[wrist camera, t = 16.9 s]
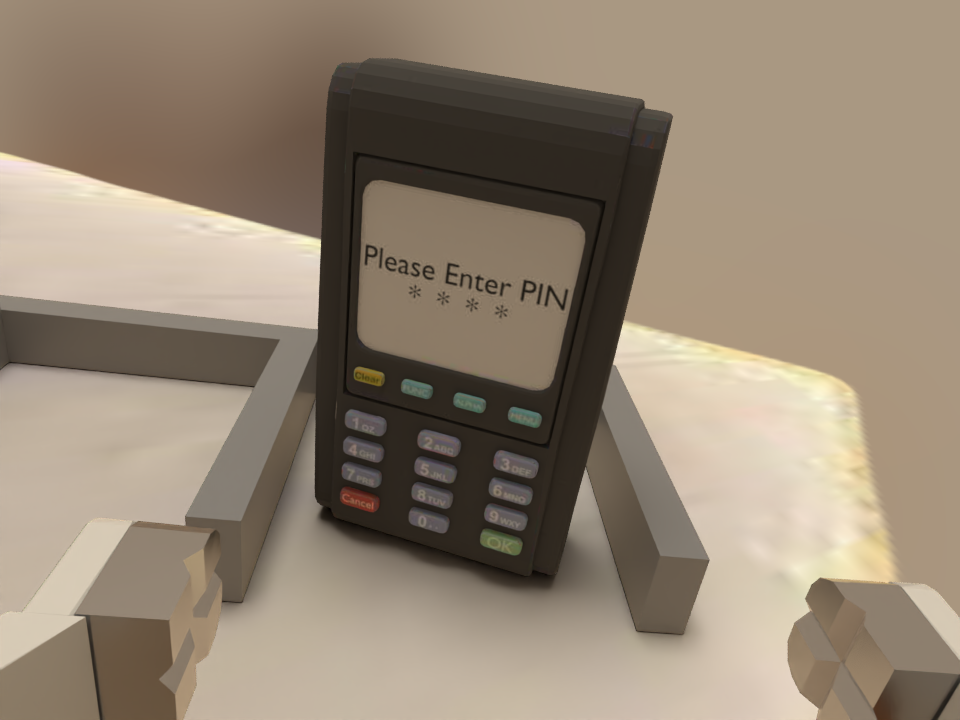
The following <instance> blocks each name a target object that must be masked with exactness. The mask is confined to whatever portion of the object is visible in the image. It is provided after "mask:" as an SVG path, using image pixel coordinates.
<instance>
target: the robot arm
mask: <svg viewBox="0 0 960 720" xmlns="http://www.w3.org/2000/svg"><path fill="white" fill-rule="evenodd" d="M220 555H221V543H220V533H219V532H218V531H217V530H216V529H211V528H201V527H192V526H182V525H172V524H163V523H153V522H143V521H137V522H134V521H127V520H117V519H107V518H96V519H94V520H92V521H90V522H89V523H87V524H86V525H85V526H84V528H83V529H82V531H81V532H80V533H79V535H78V536H77V537H76V539H75V540H74V541H73V543H72V544H71V546H70V547H69V548H68V550H67V551H66V552H65V554H64V555H63V556H62V558H61V559H60V561H59V562H58V563H57V565H56V566H55V567H54V569H53V570H52V571H51V573H50V574H49V575H48V577H47V578H46V580H45V581H44V582H43V584H42V585H41V586H40V588H39V589H38V590H37V592H36V593H35V595H34V596H33V597H32V599H31V600H30V601H29V603H28V604H27V605H26V607H25V608H24V609H23V611H22V612H9V611H8V612H6V613H4V614H3V615H1V616H0V720H183V719H184V716H185V714H186V711H187V709H188V706H189V704H190V701H191V698H192V696H193V693H194V691H195V688H196V686H197V683H196V664H197V663H199V662H200V661H201V660H203V659H204V658H205V657H207V656H208V654H209V652H210V649H211V646H212V643H213V641H214V638H215V635H216V630H217V626H218V622H219V617H220V613H221V602H222V580H221V579H220V578H219V577H218V575H217V574H216V573H215V572H214V570H215V567H216V565H217V563H218V560H219V558H220ZM805 600H806V602H807V605H808V607H809V609H810V612H809V613H807V614H806V615H805V616H803V617H802V618H800V619H799V620H798V621H796V622H795V623H794V626H793V628H792V631H791V633H790V636H789V639H788V664H789V667H790V671H791V675H792V678H793V680H794V682H795V684H796V686H797V688H798V690H799V692H800V693H801V694H802V695H803V696H804V697H805V698H807V699H808V700H809V701H810V702H811V703H813V704H814V705H815V706H816V707H817V708H819V709H818V714H817V718H816V720H960V618H959V616H958V615H957V614H956V613H955V612H954V611H953V609H952V608H951V607H950V606H949V605H948V604H947V603H946V601H945V600H944V599H943V598H942V597H941V596H940V595H939V593H938V592H937V591H936V590H934V589H932V588H930V587H929V586H927V585H925V584H916V583H900V582H888V583H885V582H874V581H860V580H846V579H833V578H819V579H818V580H817V581H816V582H814V583H813V584H812V585H811V587H810V589H809V592H808V594H807V596H806V598H805Z"/></svg>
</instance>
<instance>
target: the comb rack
mask: <svg viewBox="0 0 960 720" xmlns="http://www.w3.org/2000/svg"><path fill="white" fill-rule="evenodd" d="M317 339H318V330H317V329H307V328H298V327H289V326H280V325H271V324H262V323H252V322H243V321H234V320H225V319H216V318H206V317H197V316H188V315H179V314H170V313H160V312H151V311H142V310H133V309H124V308H115V307H105V306H96V305H87V304H78V303H69V302H59V301H50V300H41V299H32V298H23V297H13V296H4V295H0V369H1V368H2V367H3V366H5V365H6V364H7V363H8V362H17V363H27V364H37V365H47V366H57V367H67V368H77V369H87V370H97V371H107V372H117V373H127V374H137V375H147V376H157V377H167V378H177V379H186V380H196V381H206V382H216V383H226V384H236V385H246V386H255V387H254V389H253V391H252V393H251V395H250V397H249V399H248V400H247V402H246V404H245V406H244V408H243V410H242V412H241V413H240V415H239V417H238V419H237V421H236V423H235V425H234V427H233V428H232V430H231V432H230V434H229V436H228V438H227V440H226V441H225V443H224V445H223V447H222V449H221V451H220V453H219V454H218V456H217V458H216V460H215V462H214V464H213V466H212V467H211V469H210V471H209V473H208V475H207V477H206V479H205V481H204V482H203V484H202V486H201V488H200V490H199V492H198V494H197V495H196V497H195V499H194V501H193V503H192V505H191V507H190V508H189V510H188V512H187V514H186V516H185V522H186V526H192V527H201V528H211V529H216V530H217V531H218V532H219V533H220V543H221V555H220V558H219V560H218V563H217V565H216V567H215V570H214V572H215V573H216V574H217V575H218V577H219V578H220V579H221V580H222V601H232V602H242V601H243V598H244V595H245V592H246V590H247V587H248V584H249V581H250V579H251V576H252V573H253V570H254V567H255V565H256V562H257V559H258V556H259V554H260V551H261V548H262V545H263V542H264V540H265V537H266V534H267V531H268V528H269V526H270V523H271V520H272V517H273V515H274V512H275V509H276V506H277V503H278V501H279V498H280V495H281V492H282V489H283V487H284V484H285V481H286V478H287V476H288V473H289V470H290V467H291V464H292V462H293V459H294V456H295V453H296V450H297V448H298V445H299V442H300V439H301V437H302V434H303V431H304V428H305V425H306V423H307V420H308V417H309V414H310V412H311V409H312V406H313V403H314V400H315V398H316V365H317ZM586 467H587V471H588V474H589V477H590V480H591V484H592V487H593V490H594V493H595V497H596V500H597V503H598V506H599V510H600V513H601V516H602V519H603V523H604V526H605V529H606V532H607V536H608V539H609V542H610V545H611V549H612V552H613V555H614V558H615V562H616V565H617V568H618V572H619V575H620V578H621V581H622V585H623V588H624V591H625V594H626V598H627V601H628V604H629V607H630V611H631V614H632V617H633V620H634V624H635V627H636V630H637V631H647V632H661V633H675V634H683V633H684V630H685V628H686V625H687V622H688V619H689V616H690V614H691V611H692V608H693V605H694V602H695V599H696V597H697V594H698V591H699V588H700V585H701V583H702V580H703V577H704V574H705V571H706V569H707V566H708V563H709V558H708V555H707V553H706V551H705V549H704V547H703V545H702V543H701V541H700V539H699V537H698V535H697V533H696V531H695V529H694V527H693V524H692V522H691V520H690V518H689V516H688V514H687V512H686V510H685V508H684V506H683V504H682V502H681V500H680V498H679V496H678V493H677V491H676V489H675V487H674V485H673V483H672V481H671V479H670V477H669V475H668V473H667V471H666V469H665V467H664V465H663V462H662V460H661V458H660V456H659V454H658V452H657V450H656V448H655V446H654V444H653V442H652V440H651V438H650V436H649V434H648V431H647V429H646V427H645V425H644V423H643V421H642V419H641V417H640V415H639V413H638V411H637V409H636V407H635V405H634V403H633V400H632V398H631V396H630V394H629V392H628V390H627V388H626V386H625V384H624V382H623V380H622V378H621V376H620V374H619V372H618V369H617V367H616V365H612V369H611V373H610V377H609V381H608V385H607V389H606V393H605V397H604V401H603V405H602V409H601V412H600V416H599V420H598V423H597V427H596V430H595V434H594V438H593V441H592V445H591V449H590V452H589V456H588V459H587V463H586Z"/></svg>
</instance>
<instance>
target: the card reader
mask: <svg viewBox="0 0 960 720" xmlns="http://www.w3.org/2000/svg"><path fill="white" fill-rule="evenodd" d="M672 118H673V116H672V115H671V114H670V113H667V112H663V111H657V110H651V109H645V107H644V101H643V100H642V99H637V98H631V97H625V96H619V95H613V94H606V93H601V92H595V91H588V90H582V89H576V88H570V87H564V86H558V85H552V84H546V83H540V82H534V81H527V80H522V79H516V78H509V77H504V76H498V75H491V74H486V73H480V72H474V71H468V70H461V69H455V68H449V67H443V66H437V65H431V64H425V63H419V62H413V61H407V60H401V59H379V58H376V59H374V58H372V59H371V58H369V59H367V60H366V61H364V62H363V63H341V64H339V65H338V66H337V68H336V70H335V72H334V74H333V75H332V79H331V83H330V87H329V92H328V101H327V114H326V135H325V158H324V180H323V207H322V208H323V209H322V235H321V259H320V286H319V312H318V339H317V365H316V429H315V497H316V500H317V502H318V503H319V504H320V505H322V506H326V507H329V508H331V511H332V513H333V515H334V517H336V518H339V519H342V520H345V521H349V522H352V523H355V524H358V525H362V526H365V527H368V528H371V529H374V530H378V531H381V532H384V533H387V534H391V535H394V536H397V537H400V538H404V539H407V540H410V541H413V542H417V543H420V544H423V545H426V546H430V547H433V548H436V549H439V550H443V551H446V552H449V553H452V554H456V555H459V556H462V557H465V558H469V559H472V560H475V561H478V562H481V563H485V564H488V565H491V566H494V567H498V568H501V569H504V570H507V571H511V572H514V573H517V574H520V575H524V576H530V575H531V573H532V571H533V570H535V571H538V572H541V573H544V574H548V575H554V574H555V573H556V572H557V571H558V567H559V564H560V560H561V556H562V553H563V549H564V546H565V542H566V538H567V534H568V530H569V526H570V522H571V518H572V514H573V510H574V506H575V503H576V499H577V495H578V492H579V488H580V485H581V481H582V477H583V474H584V470H585V467H586V463H587V459H588V456H589V452H590V449H591V445H592V441H593V438H594V434H595V430H596V427H597V423H598V420H599V416H600V412H601V409H602V405H603V401H604V397H605V393H606V389H607V385H608V381H609V377H610V373H611V369H612V365H613V361H614V357H615V353H616V349H617V345H618V341H619V337H620V333H621V329H622V325H623V320H624V316H625V312H626V308H627V304H628V300H629V296H630V292H631V288H632V284H633V280H634V276H635V272H636V267H637V264H638V260H639V256H640V251H641V247H642V243H643V239H644V235H645V231H646V227H647V223H648V219H649V215H650V211H651V207H652V203H653V198H654V194H655V190H656V185H657V181H658V177H659V173H660V169H661V165H662V160H663V156H664V152H665V148H666V143H667V140H668V135H669V131H670V127H671V122H672Z"/></svg>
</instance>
